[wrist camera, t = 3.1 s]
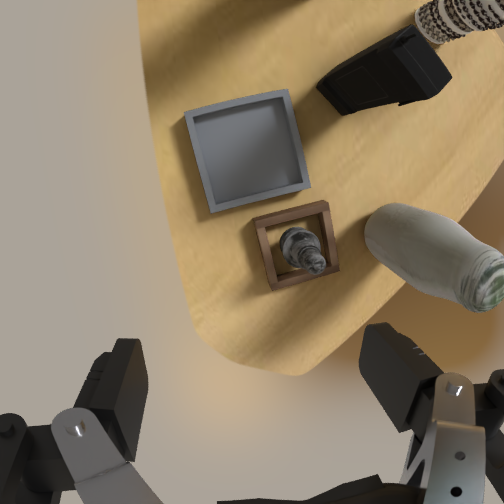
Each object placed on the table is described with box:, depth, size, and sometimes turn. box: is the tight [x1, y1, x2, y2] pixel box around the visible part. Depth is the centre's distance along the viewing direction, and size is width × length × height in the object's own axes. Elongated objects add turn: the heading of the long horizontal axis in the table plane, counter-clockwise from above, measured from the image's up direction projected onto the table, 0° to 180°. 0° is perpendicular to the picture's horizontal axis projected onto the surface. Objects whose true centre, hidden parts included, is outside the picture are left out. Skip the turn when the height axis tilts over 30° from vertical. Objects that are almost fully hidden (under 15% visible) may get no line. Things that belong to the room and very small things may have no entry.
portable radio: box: [316, 25, 452, 116], centre depth 32 cm, size 8×6×25 cm
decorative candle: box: [415, 0, 504, 44], centre depth 29 cm, size 9×9×25 cm
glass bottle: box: [364, 203, 504, 312], centre depth 38 cm, size 10×10×28 cm
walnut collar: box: [253, 200, 340, 291], centre depth 49 cm, size 11×11×2 cm
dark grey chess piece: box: [280, 227, 326, 275], centre depth 45 cm, size 6×6×12 cm
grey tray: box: [184, 89, 311, 213], centre depth 44 cm, size 15×15×2 cm
